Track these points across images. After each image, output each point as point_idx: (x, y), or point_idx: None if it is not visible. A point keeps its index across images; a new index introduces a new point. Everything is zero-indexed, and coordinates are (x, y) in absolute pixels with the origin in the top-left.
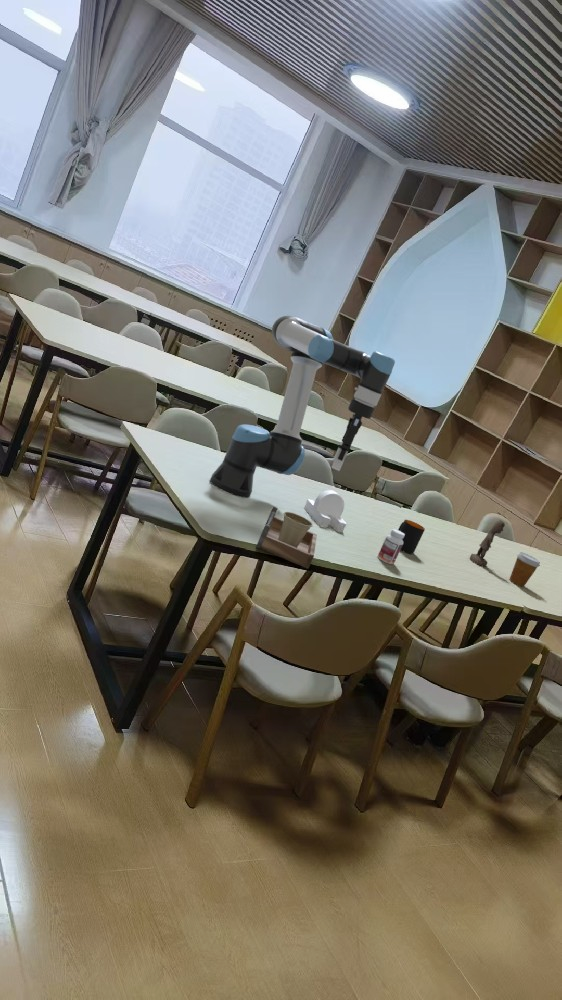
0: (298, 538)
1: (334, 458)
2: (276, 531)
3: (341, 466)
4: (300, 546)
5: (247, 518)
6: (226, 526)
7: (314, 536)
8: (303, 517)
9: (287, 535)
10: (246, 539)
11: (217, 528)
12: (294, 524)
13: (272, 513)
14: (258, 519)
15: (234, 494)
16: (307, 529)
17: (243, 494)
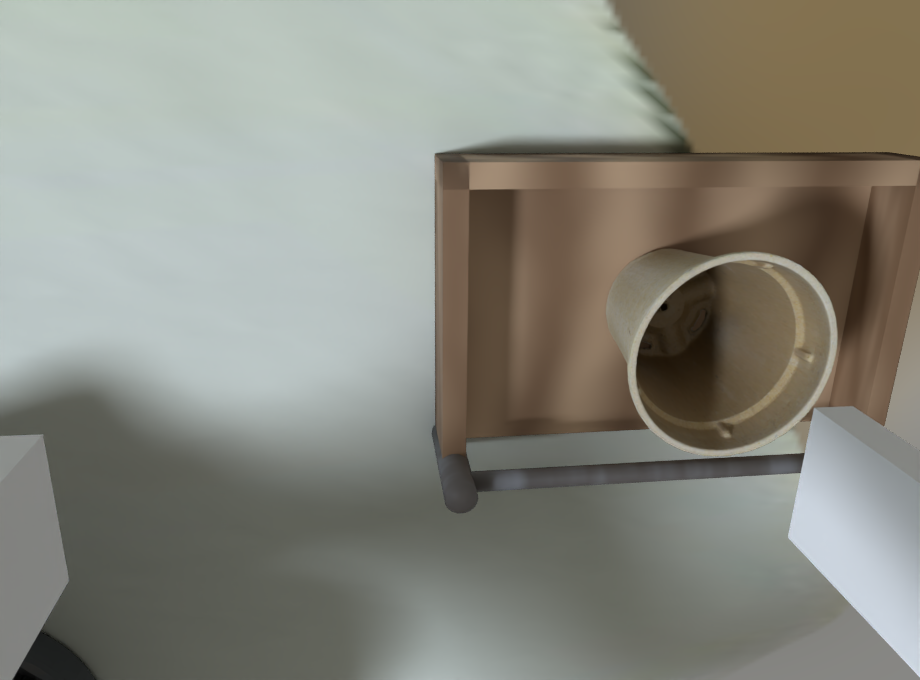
0: (747, 279)
1: (49, 602)
2: (501, 383)
3: (914, 448)
4: (602, 229)
5: (430, 534)
6: (699, 574)
7: (513, 178)
8: (643, 332)
9: (745, 341)
10: (777, 475)
11: (773, 592)
12: (812, 360)
13: (546, 484)
14: (358, 491)
15: (88, 674)
16: (779, 269)
17: (42, 649)
